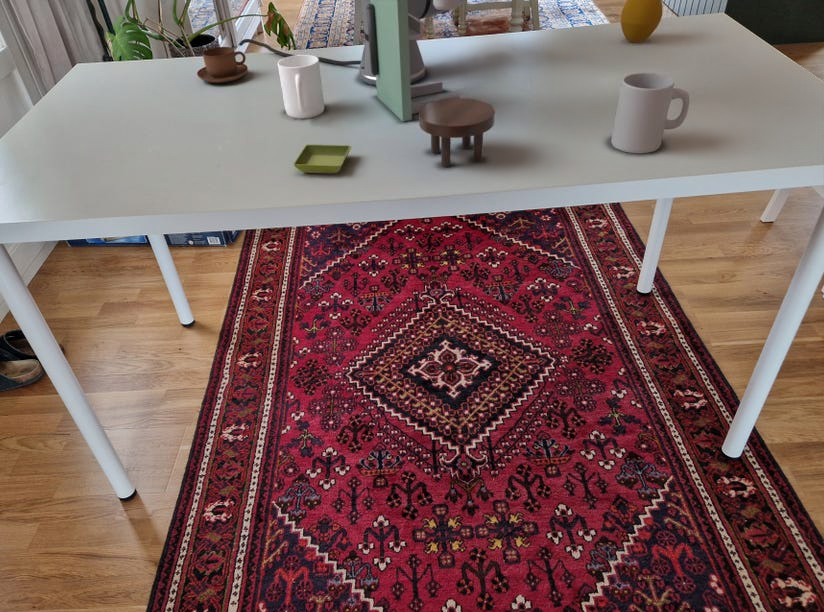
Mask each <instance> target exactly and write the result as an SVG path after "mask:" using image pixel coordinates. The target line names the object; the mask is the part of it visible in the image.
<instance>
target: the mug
mask: <svg viewBox="0 0 824 612" xmlns="http://www.w3.org/2000/svg"><path fill="white" fill-rule="evenodd" d="M674 85H675V81H674V79H672V78H671V77H669V76H667V75H664V74H660V73H655V72H654V73H653V72H637V73H632V74H627V75H626V76H624V77H623V78H622V81H621V84H620V90H619V96H618V102H617V107H616V113H615V118H614V119H615V120H614V125H613V128H612V129H613V130H612V134H611V141H610V142H611V144H612V146H613V147H614V148H615V149H617V150H619V151H621V152H625V153H630V154H648V153H653V152H655V151H657V150H658V149H659V148H661V146H662V141H663V136H664V132H665V131H669V130H673V129H677V128H679V127H680V126H682V124H683V123H684V122H685V120H686V117H687V116H688V111H689V109H690V93H688V91H687V90H685V89H683V88H676V87H675V86H674ZM676 99H680V100H681V101H682V108H681V111H680V113H679V115H678V117H676V118H675V119H667V118H668V114H669V109H670V106H671V102H672V100H676Z"/></svg>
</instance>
